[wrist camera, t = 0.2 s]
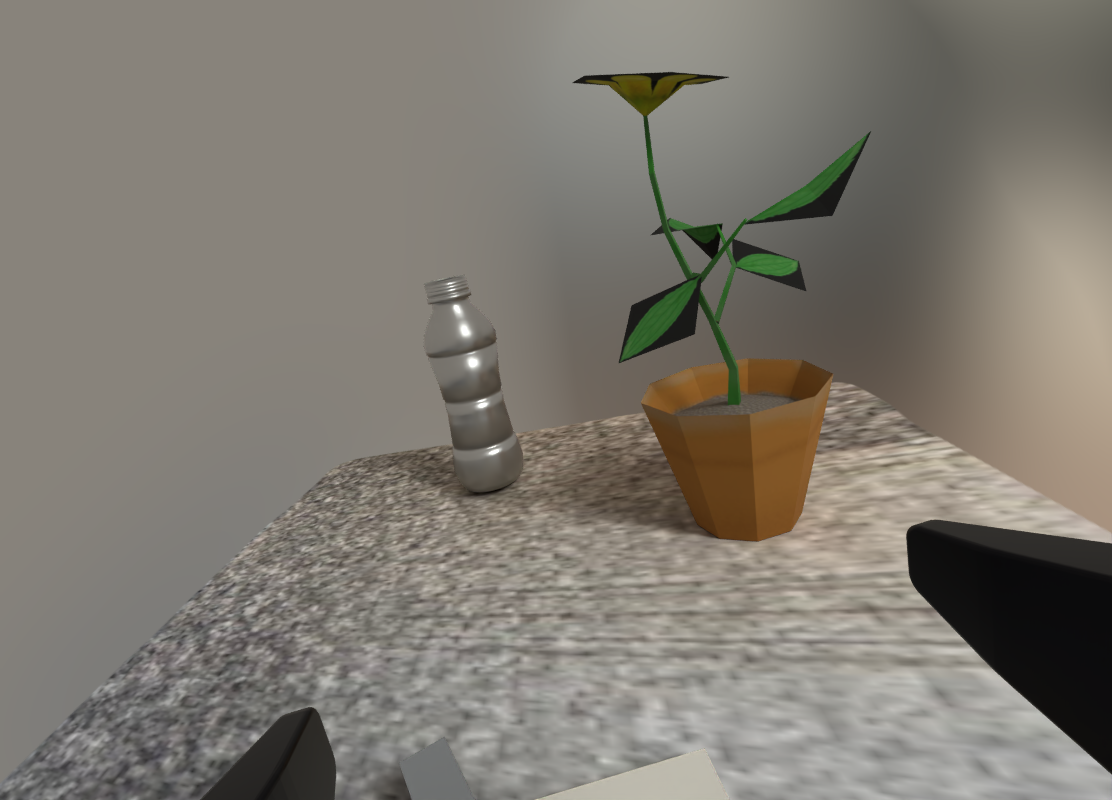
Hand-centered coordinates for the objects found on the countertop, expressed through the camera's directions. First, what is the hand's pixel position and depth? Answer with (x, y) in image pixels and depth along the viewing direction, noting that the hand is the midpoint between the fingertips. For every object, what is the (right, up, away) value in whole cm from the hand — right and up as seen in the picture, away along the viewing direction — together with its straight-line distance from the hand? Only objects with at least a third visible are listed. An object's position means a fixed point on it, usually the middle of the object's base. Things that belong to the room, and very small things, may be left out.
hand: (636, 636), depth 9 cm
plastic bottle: (-7, -5, +49) cm, 50 cm away
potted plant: (+13, -5, +34) cm, 37 cm away
